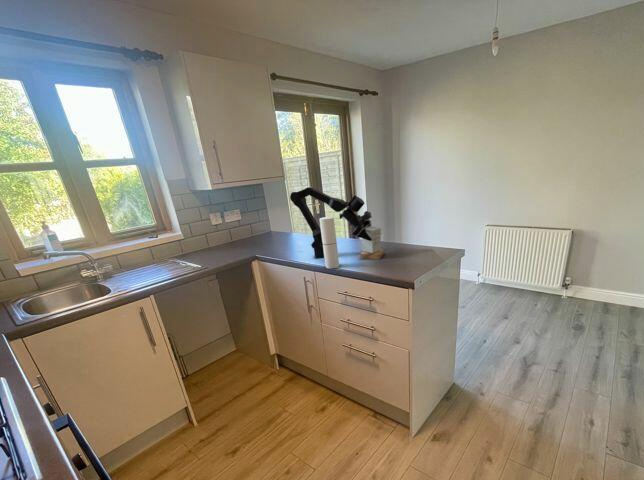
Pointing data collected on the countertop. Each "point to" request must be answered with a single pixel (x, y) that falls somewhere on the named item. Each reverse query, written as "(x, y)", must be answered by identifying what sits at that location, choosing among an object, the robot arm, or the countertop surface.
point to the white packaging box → (376, 239)
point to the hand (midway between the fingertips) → (373, 238)
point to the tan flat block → (372, 254)
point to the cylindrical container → (329, 242)
